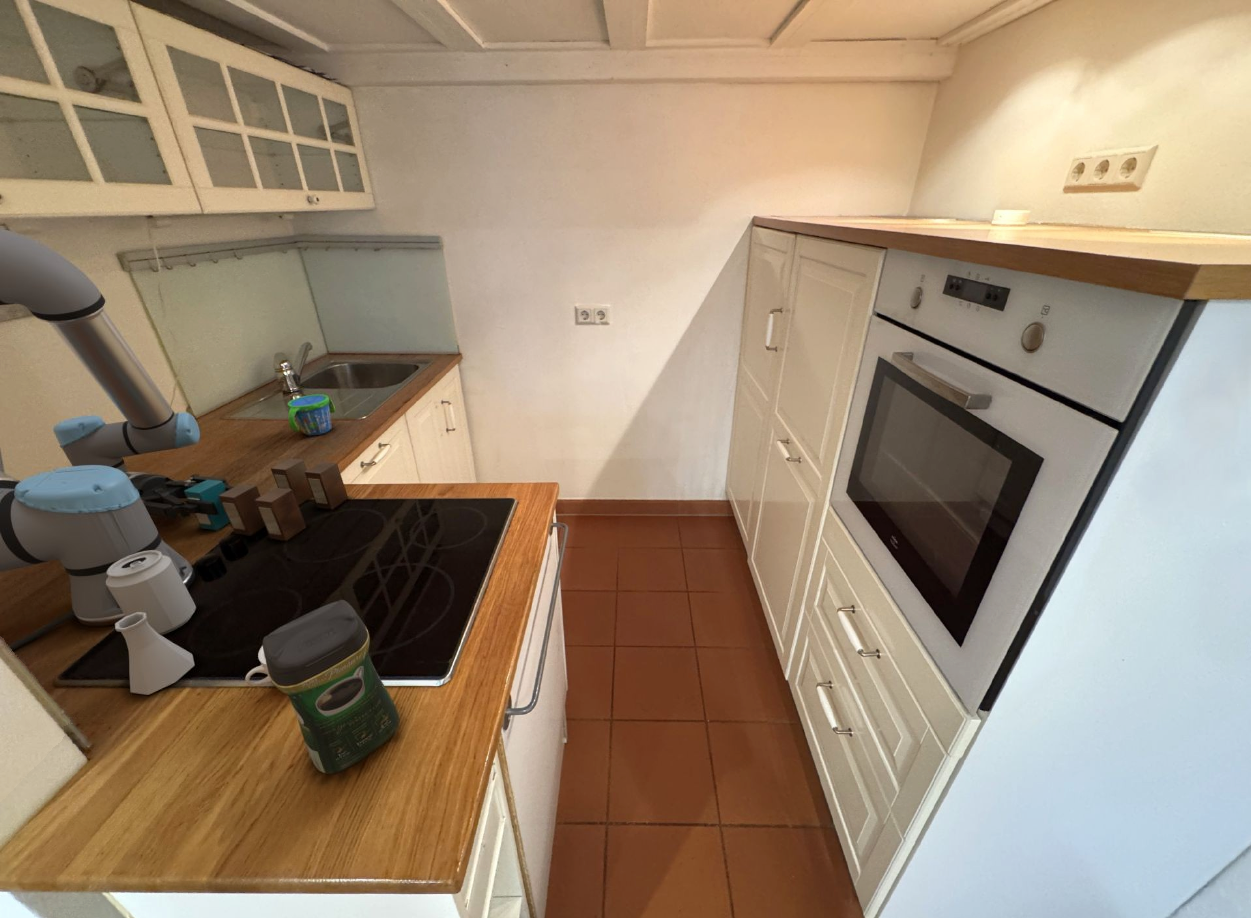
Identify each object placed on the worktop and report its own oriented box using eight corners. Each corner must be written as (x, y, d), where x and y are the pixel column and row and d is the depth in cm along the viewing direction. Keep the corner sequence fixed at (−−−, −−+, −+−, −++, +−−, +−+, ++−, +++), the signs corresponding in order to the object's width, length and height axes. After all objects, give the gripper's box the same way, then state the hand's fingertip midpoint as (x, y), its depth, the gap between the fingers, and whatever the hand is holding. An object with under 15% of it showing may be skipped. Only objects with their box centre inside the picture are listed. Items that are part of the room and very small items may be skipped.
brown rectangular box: (297, 505, 111) (284, 470, 107) (283, 504, 112) (269, 468, 108) (316, 494, 116) (303, 459, 112) (301, 492, 117) (289, 458, 113)
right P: (331, 510, 109) (318, 473, 105) (316, 508, 110) (303, 472, 106) (348, 498, 114) (337, 463, 110) (333, 496, 115) (322, 461, 111)
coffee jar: (383, 693, 66) (345, 583, 58) (409, 731, 61) (370, 617, 53) (303, 743, 60) (247, 628, 52) (323, 790, 55) (265, 671, 47)
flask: (119, 683, 69) (82, 629, 65) (180, 647, 75) (150, 595, 70) (144, 704, 66) (107, 649, 62) (205, 664, 72) (176, 611, 67)
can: (189, 599, 84) (157, 541, 79) (205, 617, 80) (173, 556, 75) (131, 626, 79) (93, 566, 74) (146, 647, 75) (107, 584, 70)
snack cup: (309, 443, 143) (298, 410, 138) (282, 440, 146) (270, 407, 141) (352, 423, 156) (343, 392, 152) (325, 421, 159) (316, 390, 155)
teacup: (323, 640, 75) (312, 613, 73) (345, 666, 70) (334, 638, 68) (246, 684, 68) (231, 655, 66) (264, 716, 64) (249, 686, 61)
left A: (249, 536, 101) (232, 498, 97) (234, 534, 102) (216, 496, 98) (271, 522, 106) (256, 485, 102) (256, 520, 106) (240, 483, 102)
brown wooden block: (285, 541, 99) (269, 502, 95) (269, 539, 100) (253, 500, 96) (306, 527, 103) (292, 489, 99) (290, 525, 104) (276, 487, 100)
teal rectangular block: (215, 531, 103) (197, 493, 99) (200, 528, 104) (182, 491, 100) (238, 517, 108) (222, 481, 104) (223, 515, 109) (207, 479, 105)
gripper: (193, 485, 117) (272, 495, 112) (103, 528, 101) (191, 542, 96) (179, 456, 114) (261, 465, 108) (85, 496, 98) (174, 508, 92)
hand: (228, 501), depth 102 cm, fingers closed on teal rectangular block, 5 cm apart
